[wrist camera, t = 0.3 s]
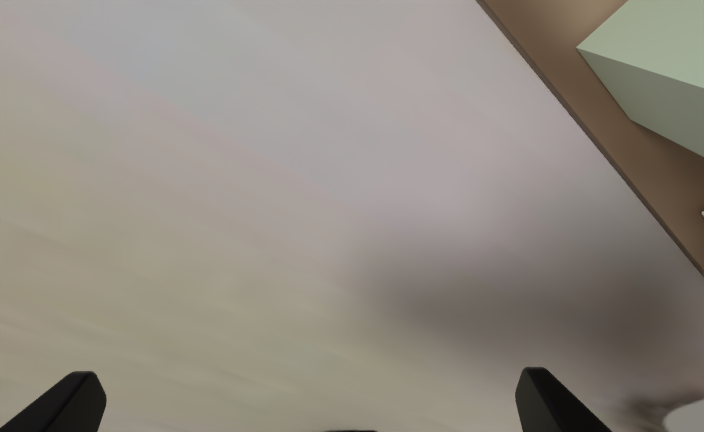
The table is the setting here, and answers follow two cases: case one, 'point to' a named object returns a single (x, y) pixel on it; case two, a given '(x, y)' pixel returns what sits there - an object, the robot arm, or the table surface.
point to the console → (607, 111)
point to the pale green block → (654, 66)
